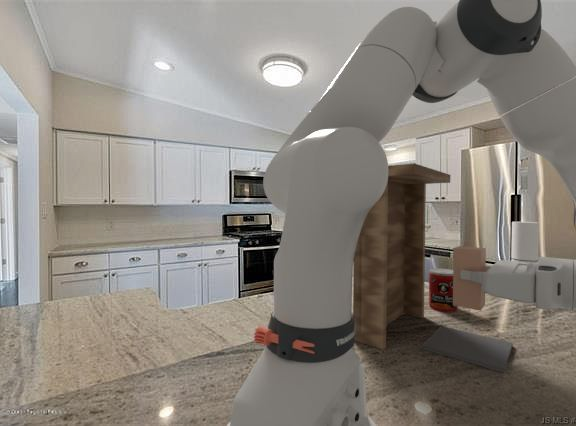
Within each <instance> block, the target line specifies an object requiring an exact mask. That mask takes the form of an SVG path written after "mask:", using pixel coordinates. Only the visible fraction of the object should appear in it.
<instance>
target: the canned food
mask: <svg viewBox="0 0 576 426" xmlns="http://www.w3.org/2000/svg"><path fill="white" fill-rule="evenodd" d="M428 273H429V274H428V280H429V281H428V305H429V307H430V308H431V309H433V310H435V311H438V312H445V313H451V312H456V311H457V310H458V308H459V306H454V305H453V269H449V268H442V267H441V268H439V267H438V268H430V269H429V272H428Z"/></svg>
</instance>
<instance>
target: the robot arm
mask: <svg viewBox="0 0 576 426" xmlns="http://www.w3.org/2000/svg"><path fill="white" fill-rule="evenodd" d="M542 12H543V10H542V2H541V0H458V1H457V2H456V3H455V4H454V5H453V6H452V7H451V8H450V9H449V10H448V11H447V12H446V13H445V14H444V15H443V16H442V18H440V20H439V21H438V22H437V21H433V18H432V17H431V16H430V15H429V14H428V13H426V12H425V11H424V10H422V9H420V8H418V7H414V6H402V7H398V8H395V9H393V10H392V11H390V12H389V13H387V14H386V15H385V16H384V17H383V18H382V19H381V20H380V21H378V22H377V24H376V25H375V26H374V27H373V28H371V30H370V31H369V32H368V33H367V34H366V35H365V37H364V38H363V39H362V40H361V41H360V43H359V44H357V47H356V48H355V49H354V51H353V52H352V54H351V55H350V56H349V57H348V59H347V61H346V62H345V64H344V65H343V67H342V68H341V69H340V71H339V72H338V73H337V75H336V76H335V78H334V79H333V81H332V82H331V84H330V85H329V86H328V87H327V90H326V91H325V92H324V93H323V95H322V96H321V97H320V99H319V100H318V101H317V102H316V103H315V104H314V106H313V107H312V108H311V109H310V110H309V112H308V113H306V116H305V117H304V118H303V119H302V121H300V123H299V124H298V125H297V126H296V128H295V129H294V131H293V132H292V133H291V134H290V135H289V137H288V138H287V139H286V141H285V142H284V143H283V144H282V146H281V147H280V148H279V150H278V152H277V153H276V154H275V155H274V157H273V158H272V159H271V160H270V162H269V163H268V166H267V167H266V169H265V172H264V175H263V180H262V181H263V183H262V185H263V191H264V194H265V196H266V197H267V199H268V201H269V202H270V203H271V204H272V205H273V207H275V208H276V209H278V210H279V211H280V212H282V213H285V215H284V222H283V227H282V232H281V236H280V237H281V238H280V242H279V246H278V250H277V252H276V253H275V256H274V259H273V311H272V312H271V314H270V317H269V322H268V324H267V328H265V327H263V326H258V327H256V328H255V332H254V334H253V335H254V336H253V340H254V341H255V343H257V344H263V345H265V347H264V349H263V350H262V352H261V353H260V356H259V357H258V359H257V360H256V361H255V364H254V366H253V367H252V369H251V371H250V372H249V374H248V375H247V377H246V379H245V380H244V383H243V384H242V385H241V387H240V389H239V390H238V392H237V394H236V396H235V397H234V399H233V403H232V405H231V406H232V407H231V412H230V420H229V422H228V423H227V424H226V426H378V425H377V424H376V422H375V421H374V420H373V419H372V417H370V416H369V415H368V408H367V407H368V406H367V405H368V403H367V388H366V371H365V366H364V365H363V363H362V361H361V360H360V359H359V357H358V355H357V353H356V351H355V348H354V346H355V332H356V327H355V320H354V316H353V303H352V301H353V298H352V297H353V274H354V255H355V250H356V246H357V242H358V239H359V235H360V232H361V229H362V226H363V223H364V221H365V218H366V216H367V214H368V212H369V211H370V209H371V208H372V207H373V206H374V204H375V203H376V202H377V201H378V200H379V199H380V197H381V196H382V194H383V192H384V190H385V188H386V185H387V181H388V173H389V169H388V166H389V163H388V158H387V155H386V153H385V150H384V148H383V146H382V145H381V143H380V142H381V141H383V139H384V138H386V136H387V135H388V134H389V133H390V131H391V129H392V127H393V126H394V125H395V123H396V121H397V120H398V118H399V117H400V115H401V113H402V112H403V110H404V109H405V107H406V106H407V104H408V103H409V101H410V99H411V97H414V98H416V99H418V100H419V101H421V102H424V103H427V104H436V103H439V102H443V101H445V100H447V99H450V98H452V97H454V96H455V95H456V94H458V92H459V91H461V90H462V89H464V88H465V87H468V86H469V85H471V84H472V83H473V82H475V81H476V80H477V81H476V82H477V83H478V84H480V85H481V86H483V87H484V88H486V89H487V92H488V95H489V98H490V100H491V102H492V104H493V107H494V109H495V111H496V112H497V114H498V116H499V118H500V120H501V122H502V124H503V125H504V126H505V128H506V130H507V131H508V132H509V134H510V135H512V137H513V138H514V140H515V141H516V142H517V143H518V144H519V145H520V146H521V147H522V148H523V149H525V150H527V151H529V152H531V153H535V154H537V155H539V156H540V157H542V158H544V159H545V161H547V162H548V163H549V164H550V165H551V166H552V167H553V168H554V170H555V171H556V173H557V175H558V176H559V178H560V180H561V182H562V183H563V185H564V186H565V188H566V190H567V191H568V194H569V195H570V197H571V198H572V201H573V205H574V211H573V225H574V229H575V230H576V64H575V63H574V62H573V60H572V58H571V57H570V56H569V54H568V53H567V52H566V51H565V50H564V48H563V47H562V46H561V45H560V44H559V42H557V40H555V38H554V37H552V36H551V35H550V34H549V33H548V31H546V30H544V29H543V28H542V18H543V17H542V15H543V13H542ZM460 277H461V278H462V279H466V280H471V281H474V282H477V283H481V284H482V291H483V292H484V293H485V295H489V296H492V297H496V298H500V299H504V300H509V301H515V302H518V303H525V304H534V306H535V308H537V309H540V310H547V311H553V310H556V309H562V310H569V311H576V259H572V258H571V259H570V258H559V257H547V256H539V257H538V263H530V262H528V263H524V262H515V261H511V260H506V259H505V260H503V259H502V260H497V261H496V262H495V263H494V264H493V265H491V264H486V272H482V271H481V272H478V271H472V270H466V269H463V270H461V272H460Z"/></svg>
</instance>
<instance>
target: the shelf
mask: <svg viewBox="0 0 576 426" xmlns="http://www.w3.org/2000/svg"><path fill="white" fill-rule="evenodd" d="M388 169H389V173H388V181H387V185H386V188H385V190H384V192H383V194H382V196H381V197H380V199H379V200H378V201H377V202H376V203H375V204H374V206H373V207H372V208H371V209H370V211H369V212H368V214H367V216H366V218H365V221H364V223H363V226H362V229H361V232H360V235H359V239H358V242H357V246H356V250H355V255H354V261H353V276H352V297H353V298H352V301H353V303H352V314H353V316H354V320H355V327H356V332H355V341H356V342H357V343H361V344H364V345H368V346H371V347H373V348H377V349H379V350H382V351H383V350H385V349H386V348H387V326H388V325H389V324H391V323H392V322H394V321H395V320H397V319H398V318H400V317H401V316H402V315H408V316H411V317H416V318H419V319H423V318H424V317H425V274H426V273H425V269H426V267H425V266H426V265H425V264H426V263H425V262H426V201H427V200H426V199H427V198H426V195H427V194H426V193H427V188H426V187H427V184H429V185H430V184H431V185H433V184H448V183H449V184H450V183H451V174H449V173H446V172H443V171H440V170H436V169H433V168H429V167H427V166H424V165H420V164H417V163H408V164H407V163H404V164H396V165H395V164H394V165H388Z"/></svg>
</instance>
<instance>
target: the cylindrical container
mask: <svg viewBox="0 0 576 426" xmlns="http://www.w3.org/2000/svg"><path fill="white" fill-rule="evenodd" d="M539 241H540V222H538V221H512V222H511V250H510V251H511V255H510V257H511V259H510V261H515V262H524V263H528V262H530V263H538V261H539V257H540V255H539V251H540V248H539V247H540V246H539V244H540V243H539Z"/></svg>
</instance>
